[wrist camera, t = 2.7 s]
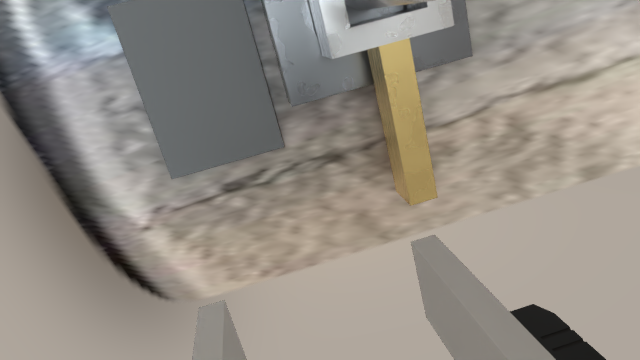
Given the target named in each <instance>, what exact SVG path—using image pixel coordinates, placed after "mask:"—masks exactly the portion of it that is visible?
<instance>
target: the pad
mask: <svg viewBox="0 0 640 360" xmlns="http://www.w3.org/2000/svg"><path fill="white" fill-rule="evenodd" d="M107 8H108V11H109V13H110V16H111V19H112V21H113V24H114V27H115V29H116V32H117V35H118V37H119V40H120V43H121V45H122V48H123V51H124V53H125V56H126V59H127V61H128V64H129V67H130V69H131V72H132V75H133V77H134V80H135V83H136V85H137V88H138V91H139V93H140V96H141V99H142V101H143V104H144V107H145V109H146V112H147V114H148V117H149V120H150V122H151V125H152V128H153V130H154V133H155V136H156V138H157V141H158V144H159V146H160V149H161V152H162V154H163V157H164V160H165V162H166V165H167V168H168V170H169V173H170V176H171V178H172V179H174V178H178V177H181V176H185V175H188V174H192V173H195V172H199V171H202V170H206V169H209V168H213V167H216V166H220V165H223V164H227V163H230V162H234V161H237V160H241V159H244V158H248V157H251V156H255V155H258V154H262V153H265V152H269V151H272V150H276V149H279V148H282V147H284V144H283V140H282V137H281V133H280V130H279V126H278V123H277V119H276V115H275V112H274V108H273V105H272V101H271V98H270V94H269V91H268V87H267V84H266V80H265V77H264V73H263V70H262V66H261V63H260V59H259V56H258V52H257V49H256V45H255V41H254V38H253V34H252V31H251V27H250V24H249V20H248V17H247V13H246V10H245V6H244V3H243V0H132V1H128V2H124V3H120V4H116V5H112V6H108V7H107Z"/></svg>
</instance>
